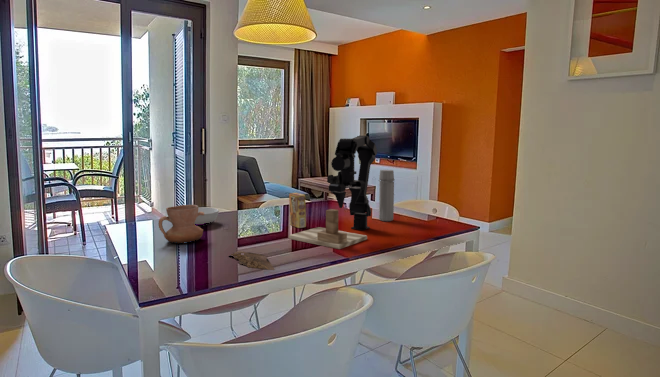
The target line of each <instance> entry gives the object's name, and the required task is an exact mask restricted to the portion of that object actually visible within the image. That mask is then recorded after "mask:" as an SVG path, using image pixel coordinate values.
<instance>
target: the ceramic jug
mask: <svg viewBox="0 0 660 377" xmlns="http://www.w3.org/2000/svg"><path fill="white" fill-rule="evenodd" d="M198 207H199V206H198V204H197V205H196V204H182V205H175V206H169V207H166V208H165V210H166V214H167V215H165V216H164V215H163V216H162V217H160V218H159V220H158V224H157V225H158V228H159V230H160V231H161V233H162V234H163V237H164V239H165V240H166V241H168V242H169V243H173V242H175V243H174V244H179V243H183V244H185V243H184V242H190V241H194V242H196V241H198V240H200V239H201V238H202V237H203V234H204V229H203V228H201V226H196V225H195V224H194V223H195V220H196V218H197V217H198V216H199V215H204V212H198ZM164 221H168V222H170V223H171V227H170V228H169V229H168V230H167V231H165V229H164V227H163V222H164ZM195 240H196V241H195ZM176 242H177V243H176Z"/></svg>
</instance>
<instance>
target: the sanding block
mask: <svg viewBox="0 0 660 377" xmlns="http://www.w3.org/2000/svg"><path fill="white" fill-rule="evenodd" d="M325 228H326V230H323V231H320V232H317V240H322V241H327V242H332V243H337V244H338V243H341V242H344V241H347V233H344V232H345V231H344V232H338V231H339V209H335V208H334V209H332V208H329V209H326V210H325Z"/></svg>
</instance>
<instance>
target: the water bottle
mask: <svg viewBox="0 0 660 377" xmlns="http://www.w3.org/2000/svg"><path fill="white" fill-rule="evenodd" d="M378 176H379V179H378V182H379V186H378V188H379V192H378V193H379V197H378V208H379V209H378V220H379V221H381V222H391V221H393V220H394V212H395V211H394V209H395V208H394V207H395V204H394V202H395V174H394V170H393V169H380V170H379V175H378Z"/></svg>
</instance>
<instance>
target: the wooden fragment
mask: <svg viewBox="0 0 660 377" xmlns="http://www.w3.org/2000/svg"><path fill="white" fill-rule="evenodd" d="M233 253H234V254H233ZM233 253H230V254H231V255H233V256H234V257H235V258H234V260H236V261H238V264H239V265H242V264H243V266H246V267H247V268H249V269H262V270H269V271H275V270H276V269H275V267H274V266H273V265H272V263H271V262H270V260H269V259H268V257H266V255H264V254H261V253H254V252H248V251H243V250H238V251H235V252H233ZM237 253H238V254H237ZM241 253H244V255H241ZM236 256H237V257H236ZM237 259H238V260H237Z"/></svg>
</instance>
